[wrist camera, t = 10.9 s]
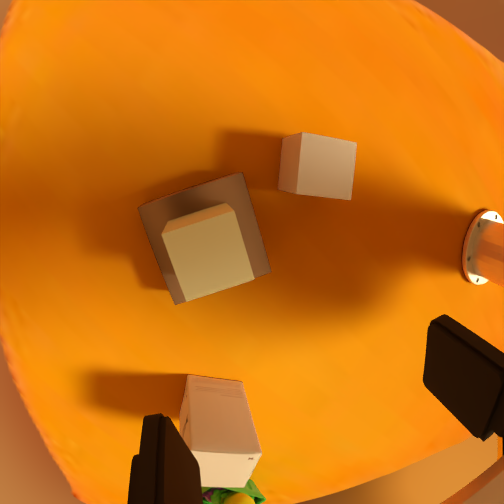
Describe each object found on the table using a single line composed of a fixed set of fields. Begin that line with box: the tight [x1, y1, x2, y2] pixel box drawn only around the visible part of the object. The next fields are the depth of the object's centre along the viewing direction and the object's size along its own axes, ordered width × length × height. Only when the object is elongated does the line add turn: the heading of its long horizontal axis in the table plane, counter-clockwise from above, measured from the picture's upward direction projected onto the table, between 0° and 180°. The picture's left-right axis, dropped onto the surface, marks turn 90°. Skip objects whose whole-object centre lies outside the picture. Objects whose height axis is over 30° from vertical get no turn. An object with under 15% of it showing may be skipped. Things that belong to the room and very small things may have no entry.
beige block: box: [161, 203, 255, 302], centre depth 25 cm, size 6×6×6 cm
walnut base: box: [138, 172, 272, 305], centre depth 30 cm, size 10×10×4 cm
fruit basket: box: [201, 479, 266, 504], centre depth 38 cm, size 11×9×11 cm
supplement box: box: [180, 375, 262, 488], centre depth 31 cm, size 7×7×13 cm
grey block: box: [278, 132, 357, 200], centre depth 29 cm, size 6×6×6 cm
